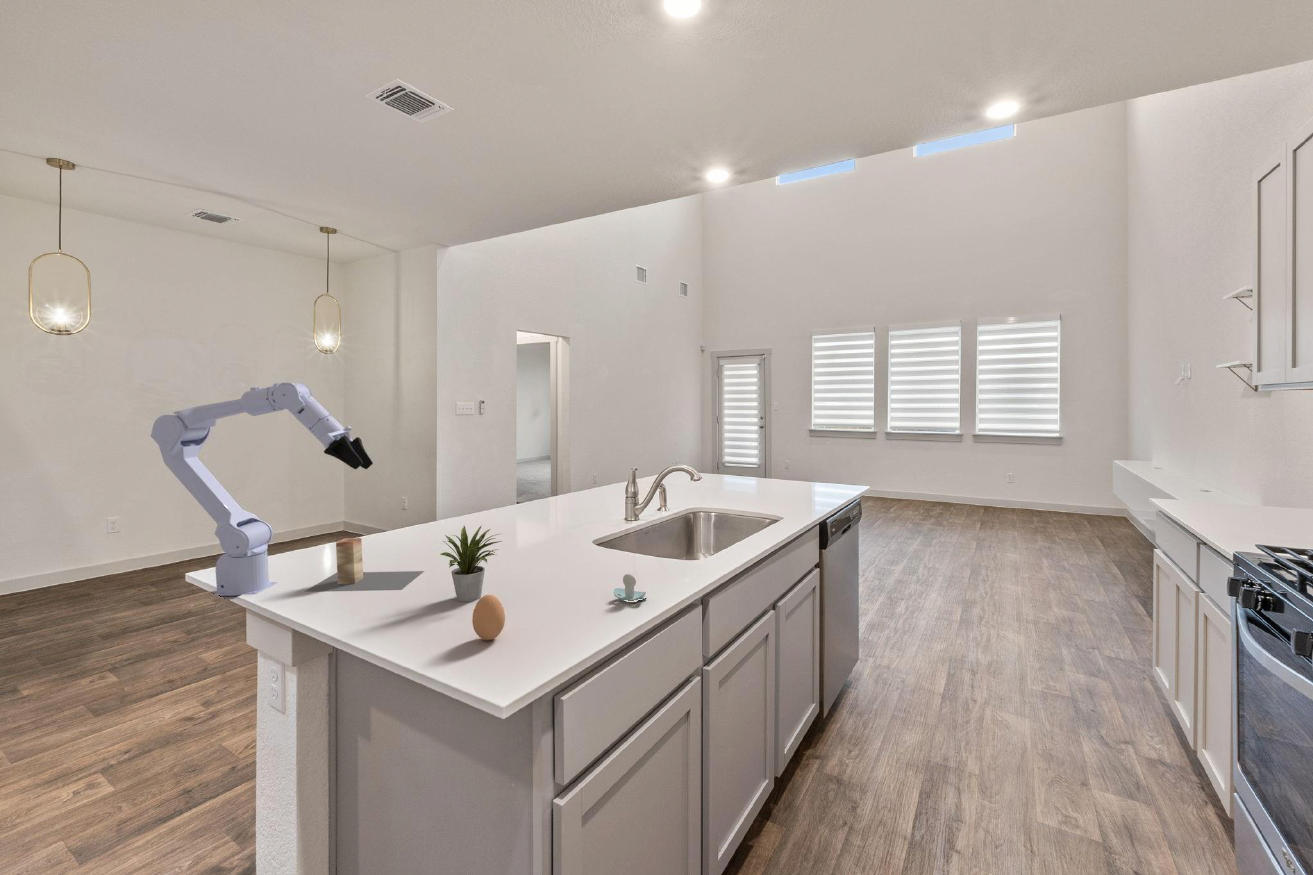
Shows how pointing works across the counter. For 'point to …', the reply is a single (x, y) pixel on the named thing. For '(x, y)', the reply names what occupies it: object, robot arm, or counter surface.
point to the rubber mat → (369, 582)
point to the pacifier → (629, 590)
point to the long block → (349, 560)
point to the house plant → (469, 565)
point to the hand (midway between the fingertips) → (364, 466)
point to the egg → (488, 617)
